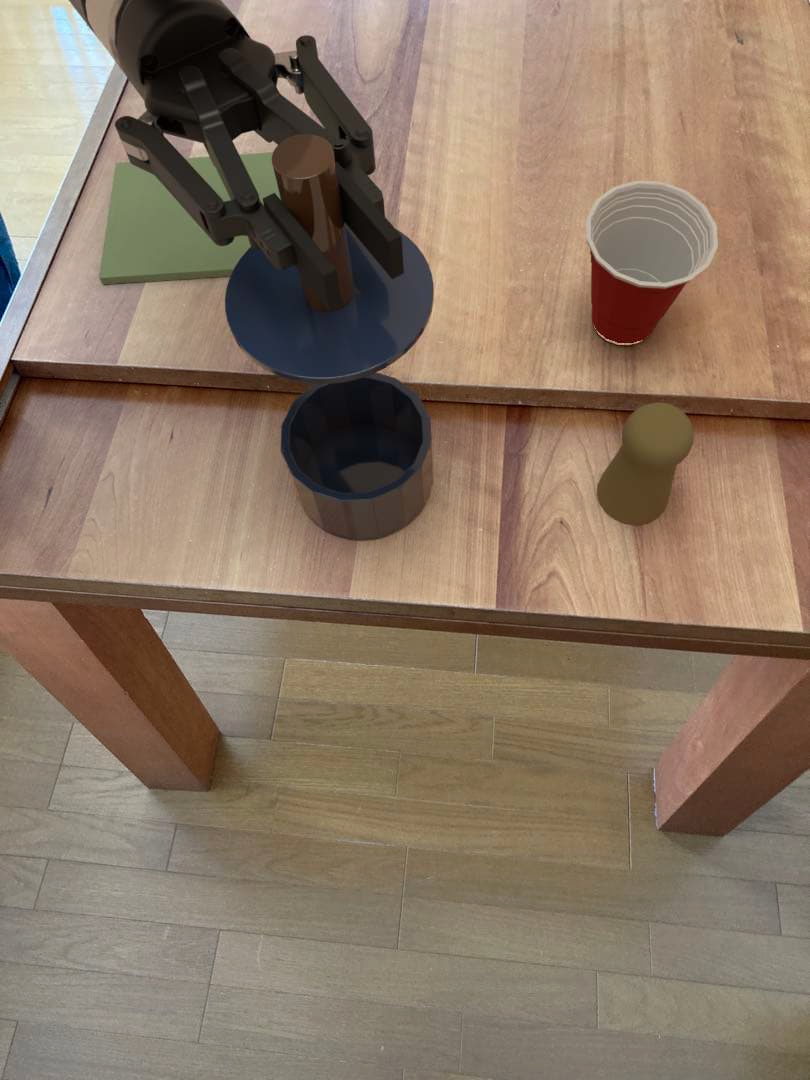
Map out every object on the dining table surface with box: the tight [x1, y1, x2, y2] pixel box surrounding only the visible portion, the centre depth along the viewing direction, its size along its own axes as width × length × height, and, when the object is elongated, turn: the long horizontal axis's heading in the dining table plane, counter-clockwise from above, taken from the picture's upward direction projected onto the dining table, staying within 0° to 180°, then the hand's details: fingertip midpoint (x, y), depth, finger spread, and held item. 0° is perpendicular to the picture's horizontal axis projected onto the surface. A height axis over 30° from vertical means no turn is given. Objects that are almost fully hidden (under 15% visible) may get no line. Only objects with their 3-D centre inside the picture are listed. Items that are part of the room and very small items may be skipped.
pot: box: [280, 372, 434, 541], centre depth 69 cm, size 12×12×8 cm
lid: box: [224, 134, 435, 385], centre depth 47 cm, size 13×13×11 cm
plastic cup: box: [585, 180, 719, 343], centre depth 72 cm, size 11×11×12 cm
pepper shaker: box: [596, 402, 695, 526], centre depth 65 cm, size 6×6×11 cm
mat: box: [98, 151, 280, 285], centre depth 85 cm, size 18×16×1 cm
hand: (364, 274), depth 43 cm, fingers closed on lid, 3 cm apart
